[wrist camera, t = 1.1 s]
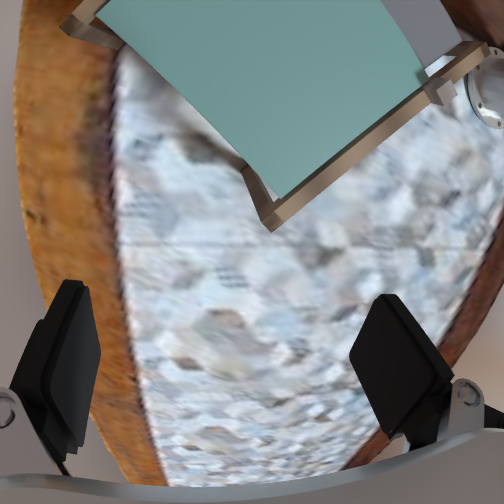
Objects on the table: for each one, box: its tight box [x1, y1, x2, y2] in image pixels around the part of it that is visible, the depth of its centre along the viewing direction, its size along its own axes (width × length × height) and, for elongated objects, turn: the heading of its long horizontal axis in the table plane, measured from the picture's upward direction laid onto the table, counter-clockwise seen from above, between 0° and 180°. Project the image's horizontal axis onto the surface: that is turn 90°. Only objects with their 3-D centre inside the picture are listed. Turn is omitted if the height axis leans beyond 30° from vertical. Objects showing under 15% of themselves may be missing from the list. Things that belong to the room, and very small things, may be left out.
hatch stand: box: [59, 0, 491, 233], centre depth 20 cm, size 26×21×14 cm
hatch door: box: [96, 0, 462, 199], centre depth 18 cm, size 22×18×8 cm
